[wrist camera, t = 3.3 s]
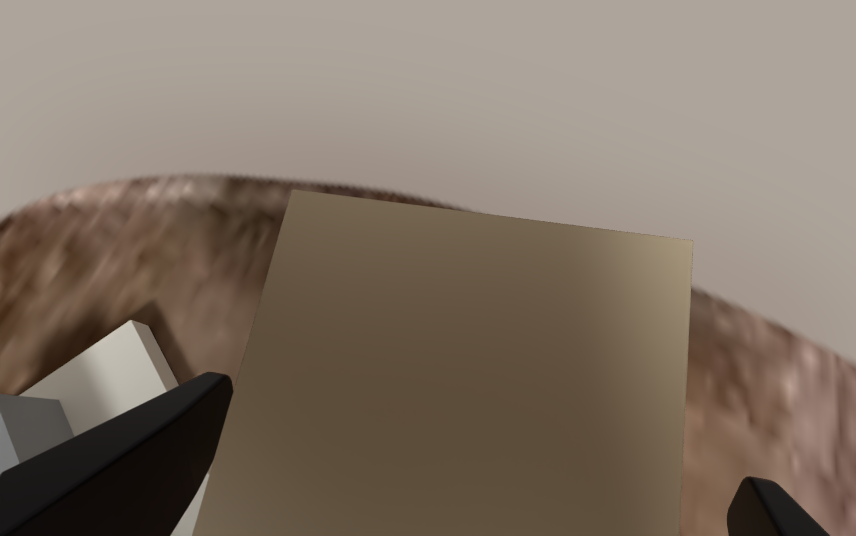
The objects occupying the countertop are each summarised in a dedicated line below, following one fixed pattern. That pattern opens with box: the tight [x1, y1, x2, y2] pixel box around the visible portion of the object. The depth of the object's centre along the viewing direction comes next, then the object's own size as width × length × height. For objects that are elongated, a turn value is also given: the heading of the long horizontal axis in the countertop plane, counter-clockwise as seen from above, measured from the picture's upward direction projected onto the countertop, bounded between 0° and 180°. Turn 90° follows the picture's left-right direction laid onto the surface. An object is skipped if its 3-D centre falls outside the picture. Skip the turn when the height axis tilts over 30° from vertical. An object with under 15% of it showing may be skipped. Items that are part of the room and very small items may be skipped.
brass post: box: [192, 189, 693, 536], centre depth 11 cm, size 4×4×13 cm
